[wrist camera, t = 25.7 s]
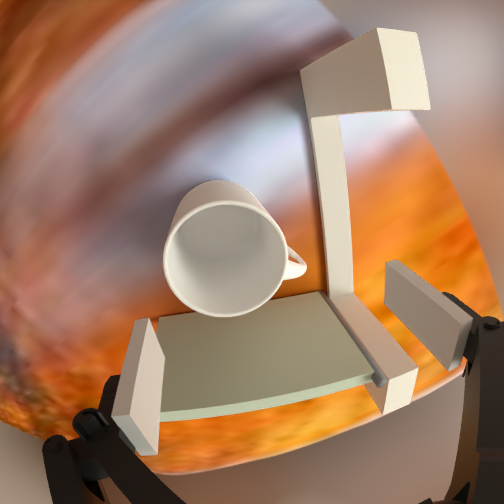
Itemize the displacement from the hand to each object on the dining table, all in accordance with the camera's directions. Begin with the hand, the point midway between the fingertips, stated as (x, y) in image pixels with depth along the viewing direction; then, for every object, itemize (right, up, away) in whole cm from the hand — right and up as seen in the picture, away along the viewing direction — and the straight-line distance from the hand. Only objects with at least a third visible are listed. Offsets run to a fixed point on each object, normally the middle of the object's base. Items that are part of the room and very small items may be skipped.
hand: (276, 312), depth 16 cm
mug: (-3, +6, +16) cm, 17 cm away
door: (-2, -4, +19) cm, 20 cm away
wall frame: (+7, +7, +16) cm, 19 cm away
